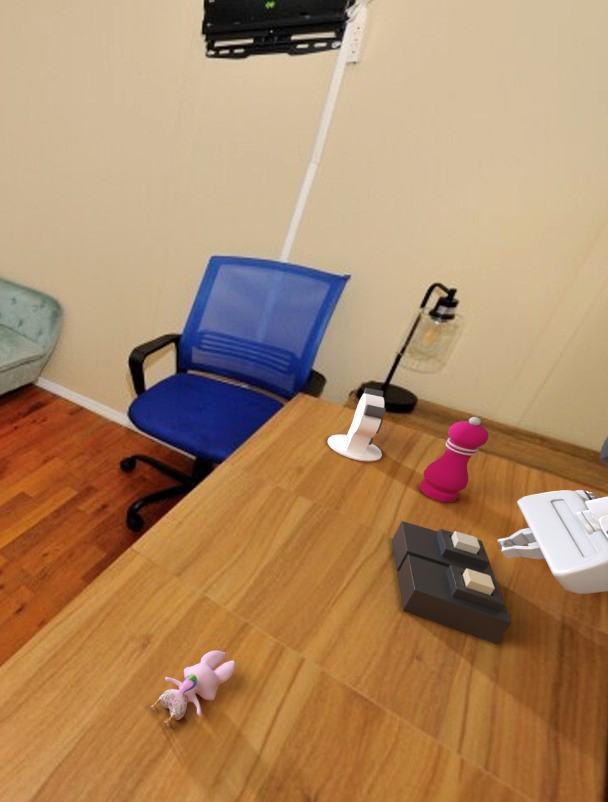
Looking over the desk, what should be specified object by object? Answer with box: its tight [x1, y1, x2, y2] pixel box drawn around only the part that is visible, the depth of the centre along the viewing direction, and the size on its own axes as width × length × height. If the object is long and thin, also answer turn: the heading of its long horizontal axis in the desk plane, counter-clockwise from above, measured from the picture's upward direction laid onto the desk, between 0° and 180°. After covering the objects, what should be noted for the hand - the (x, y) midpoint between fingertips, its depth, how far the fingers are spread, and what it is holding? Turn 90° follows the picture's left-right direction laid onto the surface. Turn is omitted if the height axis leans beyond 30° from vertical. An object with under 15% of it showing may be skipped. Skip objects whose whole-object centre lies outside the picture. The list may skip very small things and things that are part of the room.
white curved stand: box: [327, 387, 387, 463], centre depth 125 cm, size 12×11×15 cm
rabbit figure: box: [150, 650, 236, 728], centre depth 74 cm, size 6×6×15 cm
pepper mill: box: [419, 416, 489, 503], centre depth 109 cm, size 7×7×20 cm
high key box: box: [397, 555, 512, 645], centre depth 86 cm, size 12×9×7 cm
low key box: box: [391, 520, 496, 579], centre depth 93 cm, size 12×9×7 cm
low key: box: [451, 530, 480, 554], centre depth 90 cm, size 3×3×2 cm
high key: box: [462, 568, 495, 595], centre depth 83 cm, size 3×3×2 cm
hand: (501, 549), depth 84 cm, fingers closed
